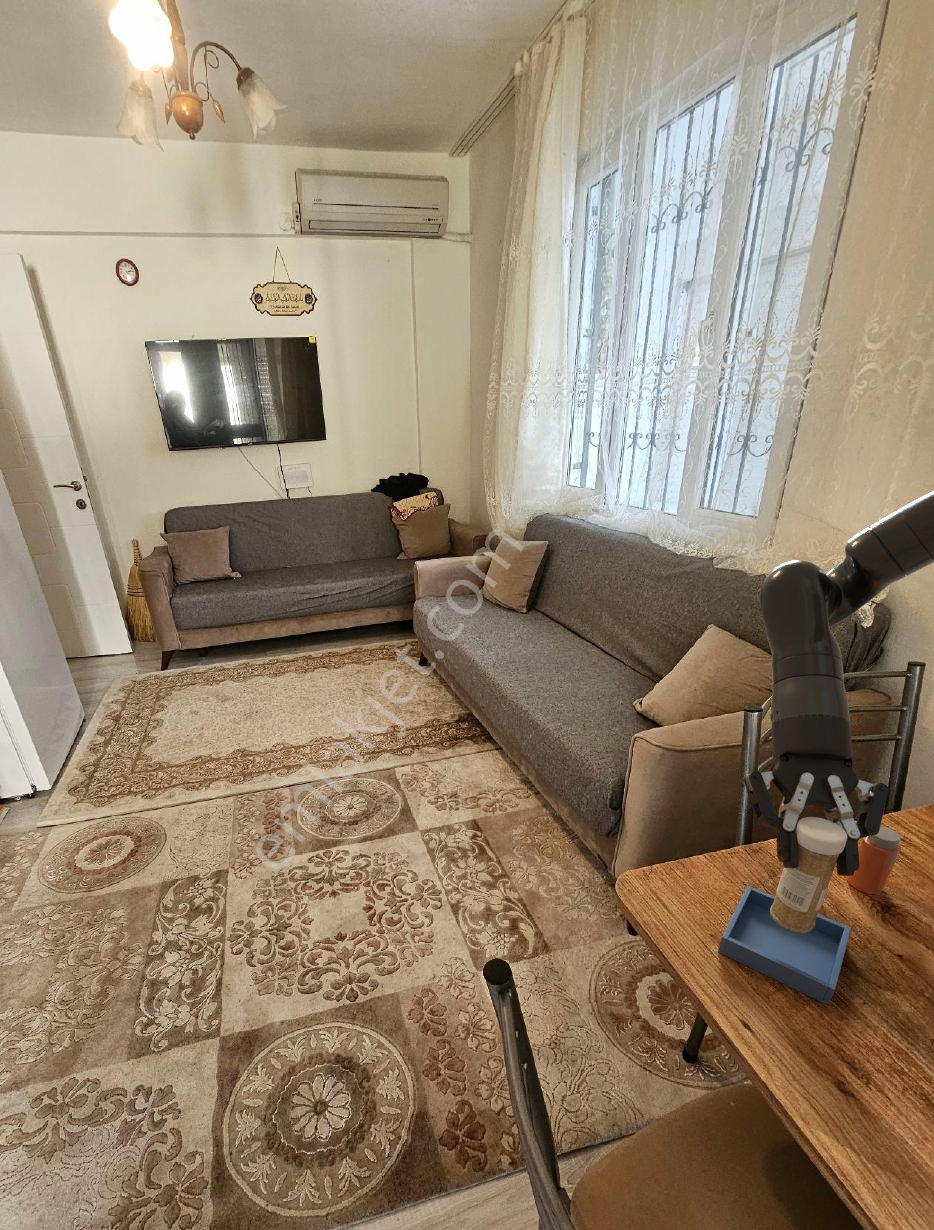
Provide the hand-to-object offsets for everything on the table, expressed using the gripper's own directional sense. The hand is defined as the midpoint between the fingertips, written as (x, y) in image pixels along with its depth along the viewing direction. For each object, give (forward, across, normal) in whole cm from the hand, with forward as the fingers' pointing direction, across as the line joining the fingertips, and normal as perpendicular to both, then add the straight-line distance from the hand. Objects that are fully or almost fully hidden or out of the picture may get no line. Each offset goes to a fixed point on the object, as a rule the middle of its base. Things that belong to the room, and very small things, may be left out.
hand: (818, 870), depth 62 cm
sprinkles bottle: (+5, 0, +8) cm, 9 cm away
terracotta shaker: (-2, +14, +21) cm, 25 cm away
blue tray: (+8, 0, +11) cm, 14 cm away
